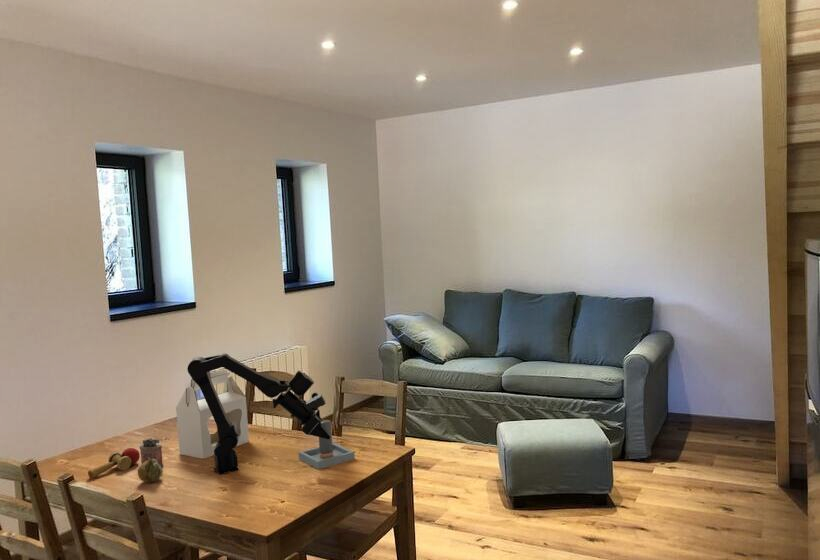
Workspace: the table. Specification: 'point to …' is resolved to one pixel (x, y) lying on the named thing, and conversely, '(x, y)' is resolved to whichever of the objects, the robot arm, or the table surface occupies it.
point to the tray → (314, 458)
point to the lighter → (151, 451)
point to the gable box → (197, 413)
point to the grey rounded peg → (326, 441)
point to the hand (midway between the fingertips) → (329, 434)
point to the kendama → (117, 462)
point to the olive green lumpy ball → (150, 471)
